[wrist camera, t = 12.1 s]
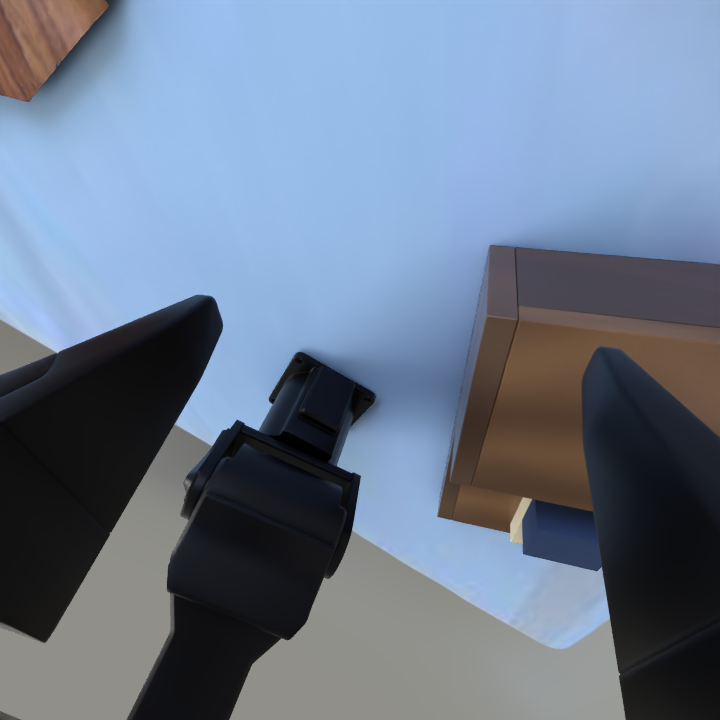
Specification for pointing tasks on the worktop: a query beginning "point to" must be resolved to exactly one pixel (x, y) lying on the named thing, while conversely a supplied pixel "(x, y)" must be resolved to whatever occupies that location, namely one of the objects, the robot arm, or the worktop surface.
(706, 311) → the brown wooden cabinet
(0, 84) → the cutting board
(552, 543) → the blue sleeved eraser
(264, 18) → the worktop surface
